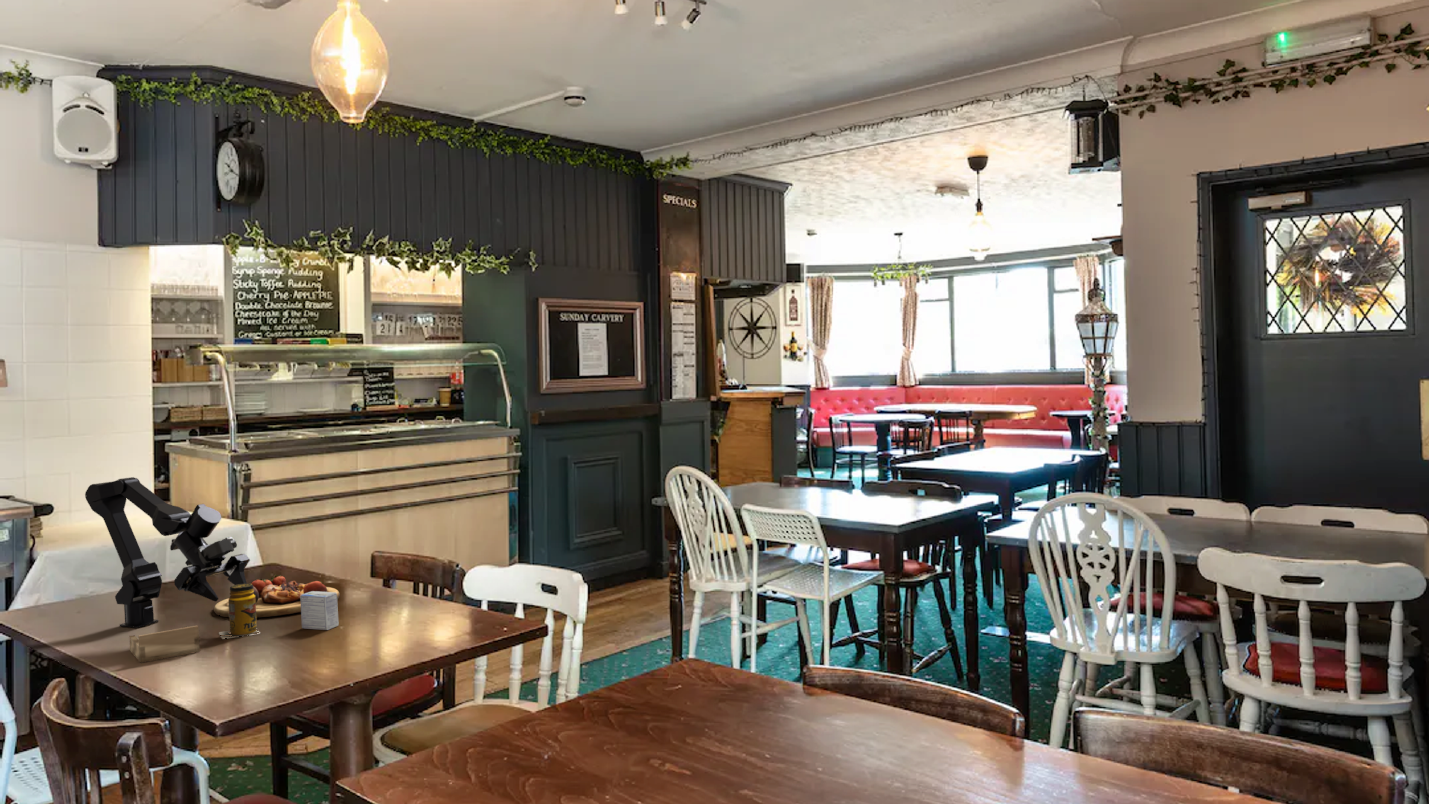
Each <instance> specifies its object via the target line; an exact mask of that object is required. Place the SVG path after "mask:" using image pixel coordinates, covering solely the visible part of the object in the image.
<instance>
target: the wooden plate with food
mask: <svg viewBox="0 0 1429 804" xmlns="http://www.w3.org/2000/svg"><path fill="white" fill-rule="evenodd" d="M249 584H252V585H253V591H254V592H253V594H254V595H255V599H256V600H255V601H256V619H257V618H267V617H277V616H284V615H285V616H286V615H291V614H296V613H301V599H300V596H301V595H303V594H305V593H308V592H311V591H319V592H336V593H337V600H339V598H340V594H341V593H340V592H339V590H338V589H336V588H334V587H330V586H326V585H325V584H324V582H322V581H318V580H313V581H310V582H308V583H306V584H304V583H299V582H297V581H296V580H291V581H288V582H287V579H286V578H285V577H284V576H283V575H278V574H274V576H272V577H271V578H270V579H265V578H258V579H257V578H256V579H254V581H252V582H251V583H249ZM213 611H214V613H215V614H216V615H217V616H219V615H220V616H219V617H224V618H229V598H226V599H225V598H224V599H223V600H220V601H219V602H217V603H216V604H215V605H214V608H213Z"/></svg>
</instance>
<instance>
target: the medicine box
mask: <svg viewBox="0 0 1429 804" xmlns="http://www.w3.org/2000/svg"><path fill="white" fill-rule="evenodd" d="M300 599H301V612H300V615H301V618H300V619H301V628H302V629H308V630H321V631H329V630H332V629H334V628H337V627H338V626H339V611H338V610H339V609H338V606H339V605H338V599H337V593H336V592H319V591H311V592H308V593H305V594H303V595H301V596H300Z"/></svg>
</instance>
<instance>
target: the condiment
mask: <svg viewBox="0 0 1429 804" xmlns="http://www.w3.org/2000/svg"><path fill="white" fill-rule="evenodd" d="M253 592H254V591H253V585H252V584H250V583H247V584H237V585H234V584H232V585H231V586H230V587H229V617H228V618H229V630H227V631H218V635H219V636H220V635H224V636H220V638H221V639H222V640H226V639H225V638H227V639H233V638H235V637H233V636H237V637H236V638H240V637H239V636H242V637H245V636H244V635H247V636H246V637H248V635H249V636H253V635H255V634H253V633H255V632H259V633H257V634H256V635H259V634H261V631H259V630H258V631H257V630H256V629H258V628H257V627H258V626H257V624H258V623H257V618H256V601H255V600H256V599H255V595H254V594H253ZM228 632H231V634H229V633H228ZM225 635H232V637H231V636H230V637H229V636H225Z"/></svg>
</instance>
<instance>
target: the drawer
mask: <svg viewBox="0 0 1429 804" xmlns="http://www.w3.org/2000/svg"><path fill="white" fill-rule="evenodd" d="M199 631H200V630H199V625H191V626H182V627H180V628H174V629H170V630H169V629H168V630H162V631H158V632H156V631H155V632H150V633H145V634H139V635H138V637H137V636H135V635H129V637H128V638H129V650H130V653H133V654H132V655H133V656H134V657H135V658H136V660H137V661H138V662H139V664H142V663H147V662H146V661H148V662H152V661H157V660H163V658H164V659H168V658H174V657H179V656H184V655H189V654H190V655H191V654H195V652H196V653H200V651H201V650H200V633H199Z"/></svg>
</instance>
